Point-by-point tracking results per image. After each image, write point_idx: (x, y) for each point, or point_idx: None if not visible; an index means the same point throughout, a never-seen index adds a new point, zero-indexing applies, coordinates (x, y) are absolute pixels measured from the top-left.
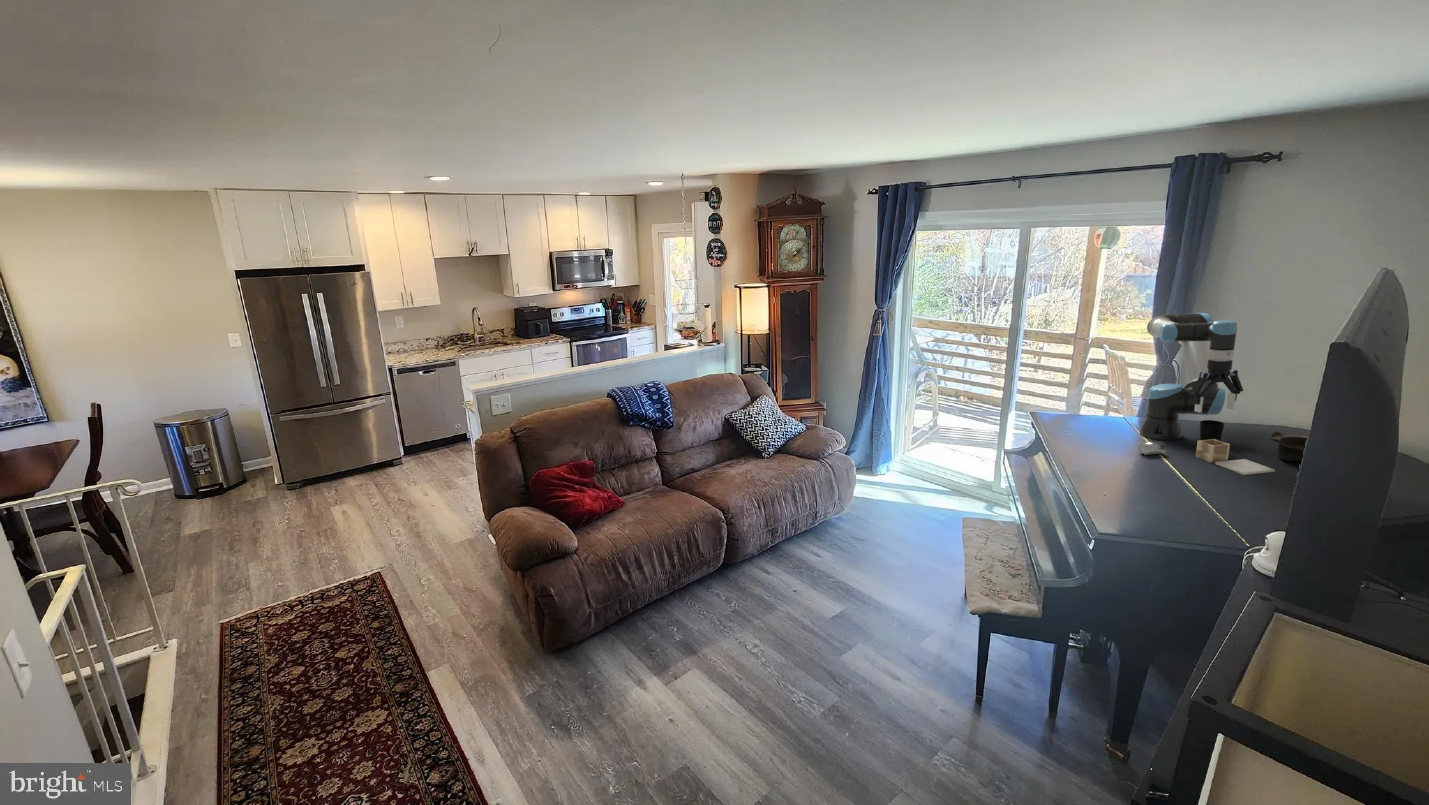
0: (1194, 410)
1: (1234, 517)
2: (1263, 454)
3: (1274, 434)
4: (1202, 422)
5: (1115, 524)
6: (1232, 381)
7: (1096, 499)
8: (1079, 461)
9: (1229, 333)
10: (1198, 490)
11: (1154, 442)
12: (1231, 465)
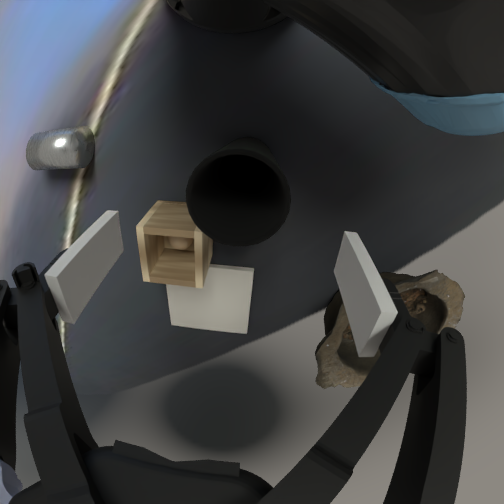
0: (105, 213)
1: (76, 377)
2: None
3: (400, 281)
4: (221, 156)
5: None
6: (432, 424)
7: None
8: None
9: None
10: (67, 328)
11: (52, 153)
12: (181, 291)
